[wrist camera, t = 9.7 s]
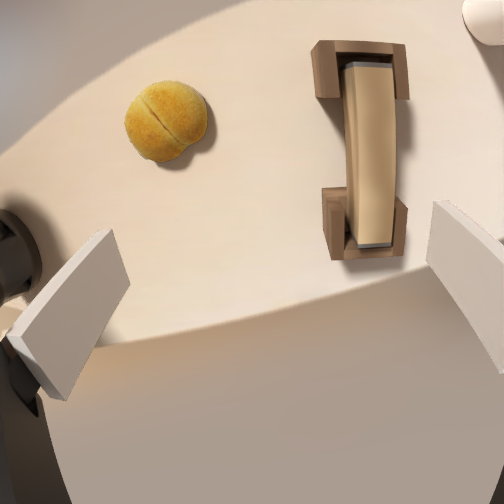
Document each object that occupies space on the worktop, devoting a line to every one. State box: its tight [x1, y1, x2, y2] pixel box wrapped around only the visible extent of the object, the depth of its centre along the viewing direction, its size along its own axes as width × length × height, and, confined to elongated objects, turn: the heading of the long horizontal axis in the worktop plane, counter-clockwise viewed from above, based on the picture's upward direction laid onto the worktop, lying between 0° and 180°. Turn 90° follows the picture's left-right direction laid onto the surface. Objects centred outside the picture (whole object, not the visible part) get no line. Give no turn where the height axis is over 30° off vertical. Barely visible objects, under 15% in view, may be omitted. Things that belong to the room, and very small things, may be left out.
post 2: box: [322, 187, 408, 260], centre depth 31 cm, size 7×5×7 cm
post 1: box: [311, 40, 410, 100], centre depth 24 cm, size 7×5×7 cm
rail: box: [340, 62, 396, 248], centre depth 26 cm, size 3×16×6 cm, turn 7°
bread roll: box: [125, 81, 207, 162], centre depth 29 cm, size 8×9×4 cm
